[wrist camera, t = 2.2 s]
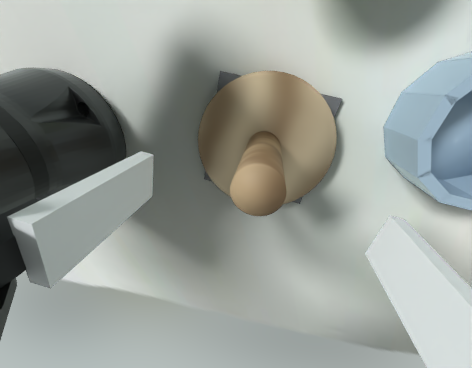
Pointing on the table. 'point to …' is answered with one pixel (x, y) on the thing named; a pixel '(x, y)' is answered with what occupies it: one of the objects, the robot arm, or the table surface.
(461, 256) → the table surface
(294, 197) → the lid
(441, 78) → the bowl
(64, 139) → the robot arm
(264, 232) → the table surface
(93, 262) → the table surface
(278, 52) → the table surface
